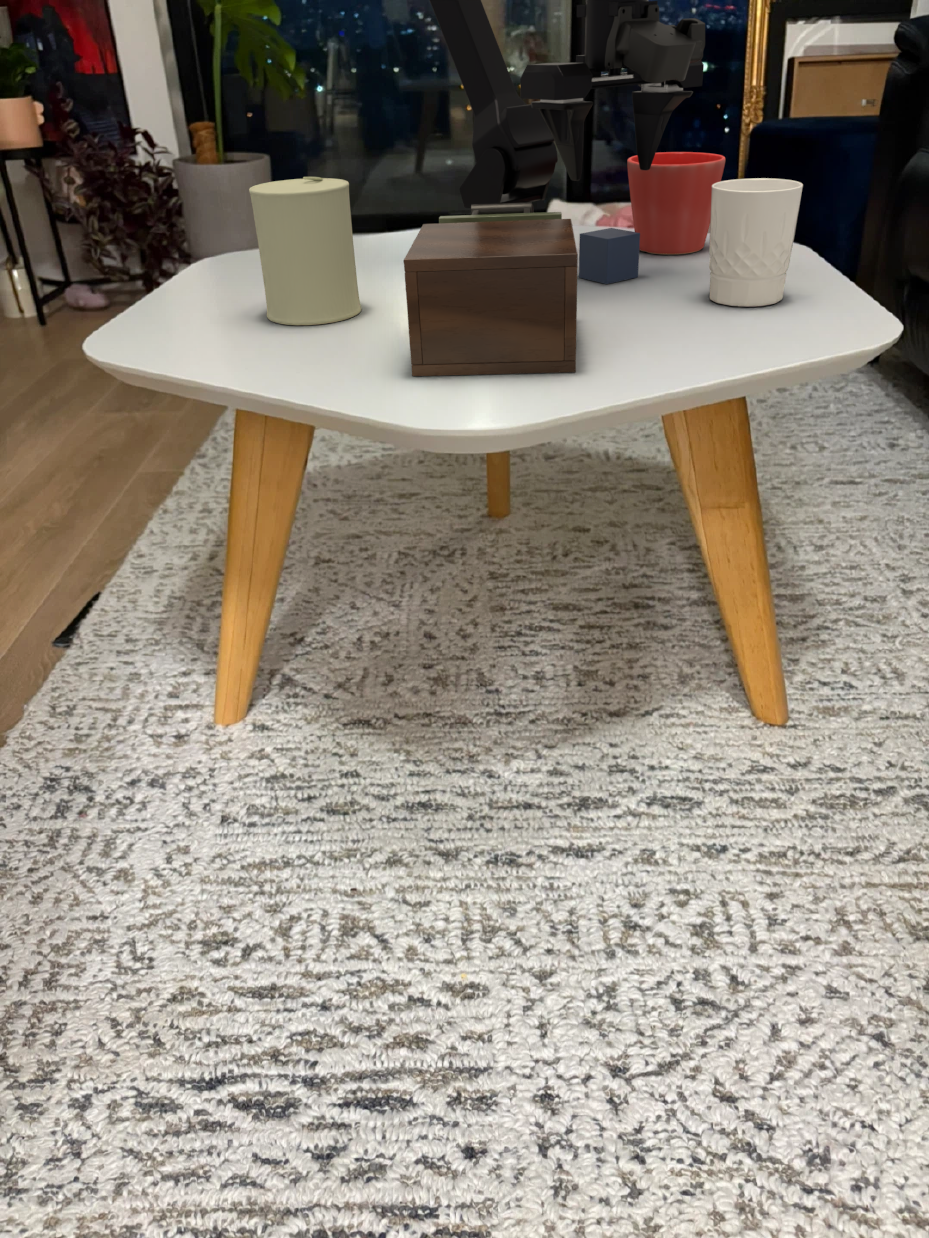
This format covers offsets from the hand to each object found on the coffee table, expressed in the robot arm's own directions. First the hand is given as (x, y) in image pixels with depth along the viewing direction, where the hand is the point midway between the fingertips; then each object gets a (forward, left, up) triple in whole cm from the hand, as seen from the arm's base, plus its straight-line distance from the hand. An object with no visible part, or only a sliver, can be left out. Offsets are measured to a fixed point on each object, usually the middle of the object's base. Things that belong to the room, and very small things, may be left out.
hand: (610, 175), depth 98 cm
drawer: (+3, -16, -9) cm, 19 cm away
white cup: (+16, +3, -10) cm, 19 cm away
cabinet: (+13, -24, -10) cm, 29 cm away
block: (0, 0, -10) cm, 10 cm away
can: (-9, -30, -10) cm, 33 cm away
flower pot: (-6, +15, -10) cm, 19 cm away
